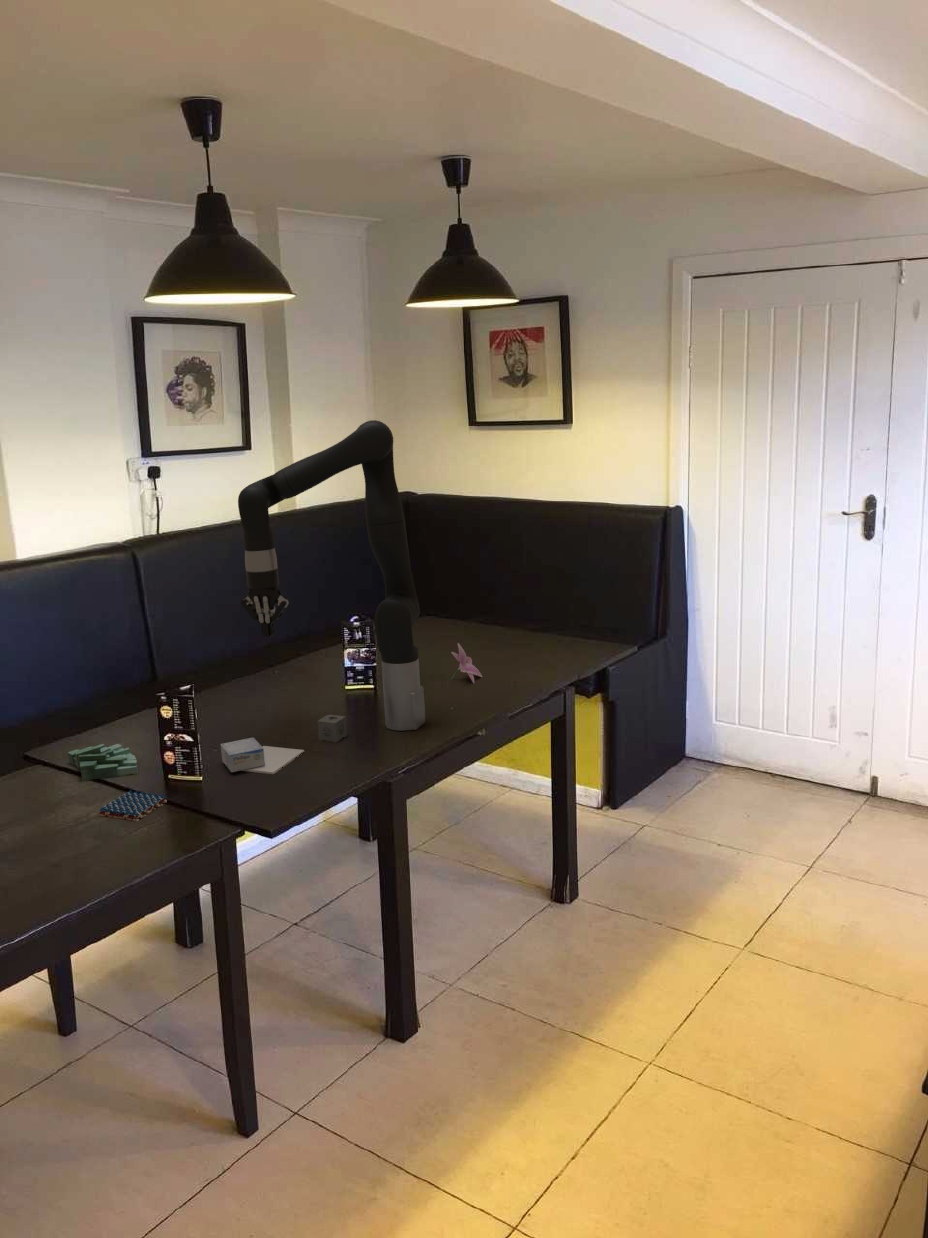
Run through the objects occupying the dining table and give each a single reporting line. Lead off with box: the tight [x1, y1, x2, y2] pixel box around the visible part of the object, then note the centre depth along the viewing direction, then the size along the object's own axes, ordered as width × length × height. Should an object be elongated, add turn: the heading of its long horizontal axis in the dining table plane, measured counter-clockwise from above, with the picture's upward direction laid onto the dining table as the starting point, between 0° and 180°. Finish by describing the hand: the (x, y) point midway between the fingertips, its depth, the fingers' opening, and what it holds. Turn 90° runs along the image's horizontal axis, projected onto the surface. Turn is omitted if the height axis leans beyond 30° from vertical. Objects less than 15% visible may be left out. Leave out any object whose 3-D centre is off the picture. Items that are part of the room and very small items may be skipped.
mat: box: [240, 745, 305, 775], centre depth 240 cm, size 11×14×1 cm
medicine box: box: [220, 737, 265, 773], centre depth 237 cm, size 8×4×9 cm
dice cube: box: [316, 714, 348, 743], centre depth 252 cm, size 5×5×5 cm
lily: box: [450, 642, 483, 684], centre depth 293 cm, size 12×12×10 cm
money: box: [67, 743, 139, 782], centre depth 240 cm, size 20×16×5 cm
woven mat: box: [98, 790, 168, 822], centre depth 217 cm, size 10×11×2 cm
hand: (268, 636), depth 253 cm, fingers closed
